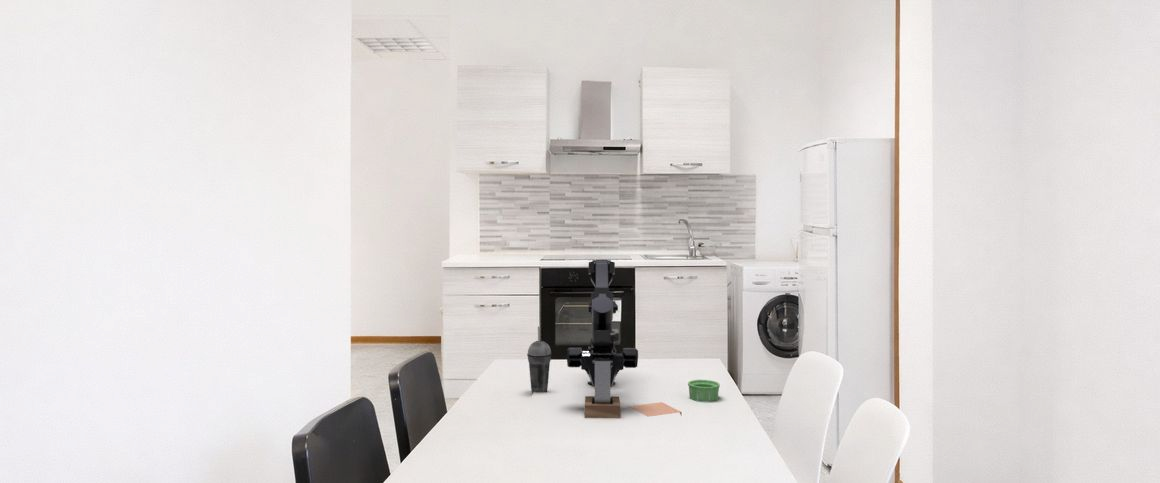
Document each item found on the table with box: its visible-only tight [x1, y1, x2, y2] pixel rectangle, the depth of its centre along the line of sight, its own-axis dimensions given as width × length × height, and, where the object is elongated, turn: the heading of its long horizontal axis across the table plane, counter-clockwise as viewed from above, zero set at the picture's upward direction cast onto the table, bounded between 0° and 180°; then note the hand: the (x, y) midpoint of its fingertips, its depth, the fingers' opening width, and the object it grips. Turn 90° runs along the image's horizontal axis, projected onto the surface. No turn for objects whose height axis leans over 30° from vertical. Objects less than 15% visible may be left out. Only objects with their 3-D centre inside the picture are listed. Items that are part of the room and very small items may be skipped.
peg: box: [594, 358, 611, 404], centre depth 161 cm, size 4×4×12 cm
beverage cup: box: [527, 326, 552, 395], centre depth 184 cm, size 7×7×20 cm
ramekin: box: [687, 379, 721, 402], centre depth 179 cm, size 9×9×4 cm
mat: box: [629, 401, 683, 417], centre depth 165 cm, size 10×10×1 cm
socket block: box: [584, 395, 621, 419], centre depth 161 cm, size 9×9×4 cm
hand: (602, 385), depth 160 cm, fingers closed on peg, 4 cm apart
